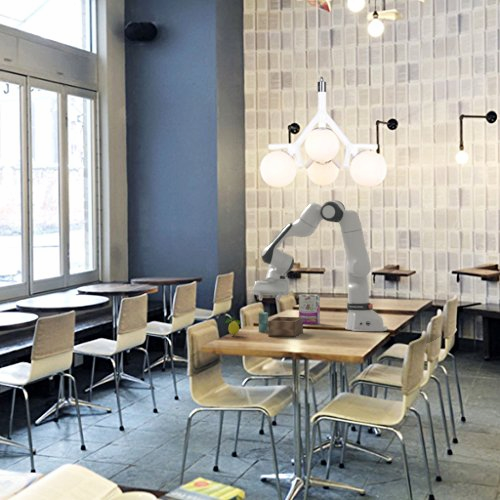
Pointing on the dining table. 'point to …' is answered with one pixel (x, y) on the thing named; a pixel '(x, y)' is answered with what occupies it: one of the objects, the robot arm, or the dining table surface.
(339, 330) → the dining table surface
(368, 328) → the robot arm
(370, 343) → the dining table surface
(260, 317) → the peg
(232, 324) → the lemon
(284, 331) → the walnut box
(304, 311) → the candy bar box
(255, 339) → the dining table surface
